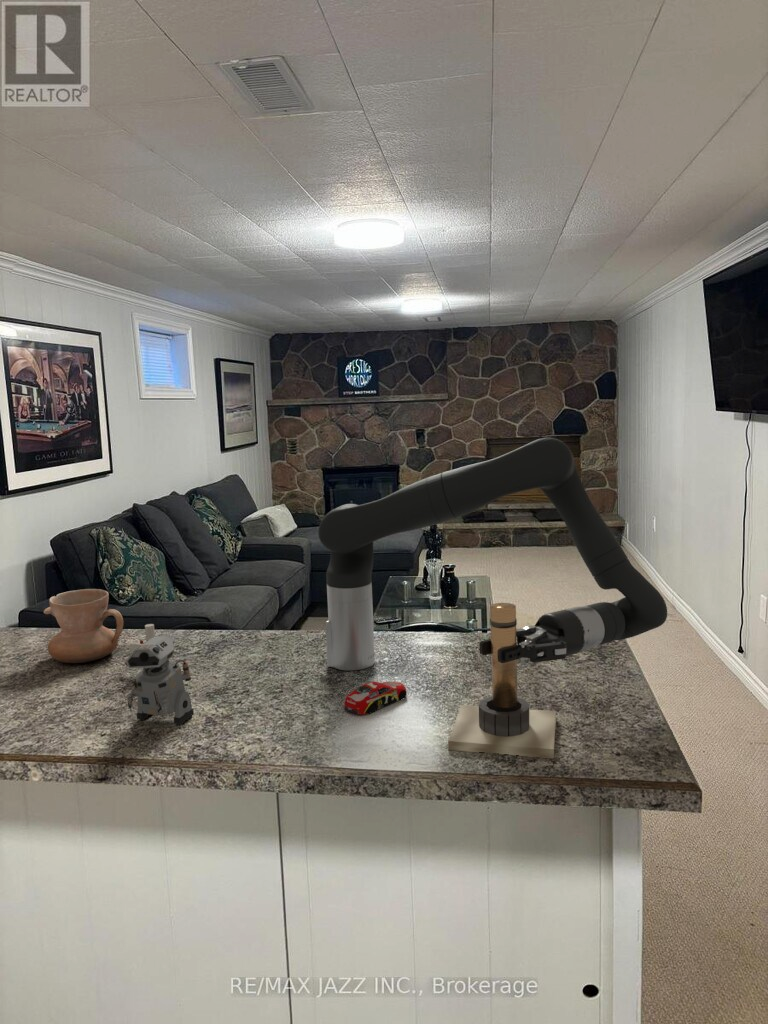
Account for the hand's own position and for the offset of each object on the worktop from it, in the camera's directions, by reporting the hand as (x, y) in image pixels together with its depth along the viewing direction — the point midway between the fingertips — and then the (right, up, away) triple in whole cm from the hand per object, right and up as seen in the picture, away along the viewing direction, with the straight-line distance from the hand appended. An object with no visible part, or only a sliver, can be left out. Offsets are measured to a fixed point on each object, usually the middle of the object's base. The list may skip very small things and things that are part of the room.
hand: (490, 652), depth 119 cm
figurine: (-56, -15, +13) cm, 59 cm away
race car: (-18, -13, +18) cm, 29 cm away
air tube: (+3, -9, +3) cm, 9 cm away
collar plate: (+3, -14, +3) cm, 15 cm away
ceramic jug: (-83, -10, +49) cm, 97 cm away
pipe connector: (-65, -11, +38) cm, 76 cm away
